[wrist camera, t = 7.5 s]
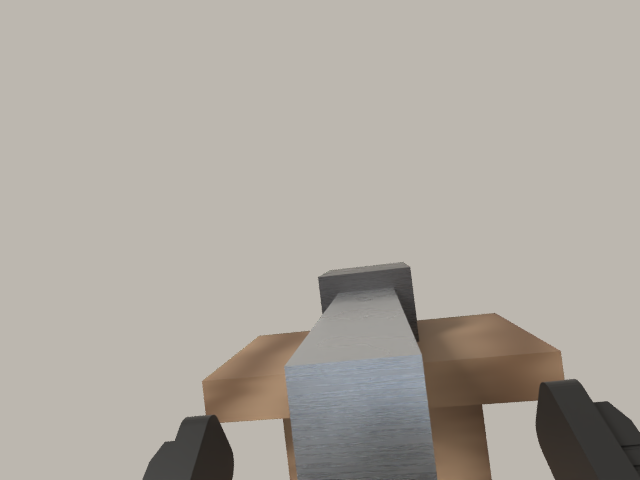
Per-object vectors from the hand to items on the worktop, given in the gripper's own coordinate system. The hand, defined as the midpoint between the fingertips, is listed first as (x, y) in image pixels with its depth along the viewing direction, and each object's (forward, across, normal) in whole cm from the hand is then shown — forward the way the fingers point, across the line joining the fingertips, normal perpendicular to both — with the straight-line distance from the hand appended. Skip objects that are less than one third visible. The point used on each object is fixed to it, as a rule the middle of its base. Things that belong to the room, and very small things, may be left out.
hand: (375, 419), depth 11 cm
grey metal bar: (+7, 0, -5) cm, 8 cm away
